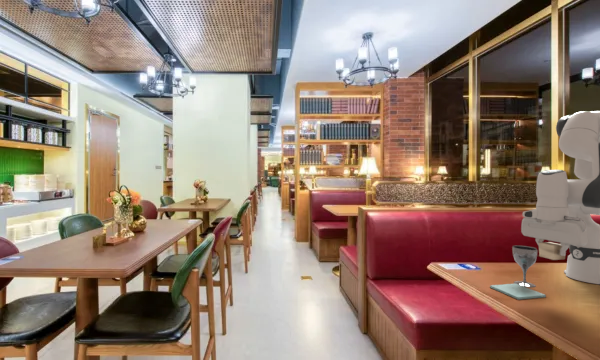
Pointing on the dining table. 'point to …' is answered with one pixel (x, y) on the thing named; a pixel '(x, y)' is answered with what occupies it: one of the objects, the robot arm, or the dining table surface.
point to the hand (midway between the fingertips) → (551, 253)
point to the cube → (550, 250)
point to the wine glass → (524, 261)
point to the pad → (517, 291)
